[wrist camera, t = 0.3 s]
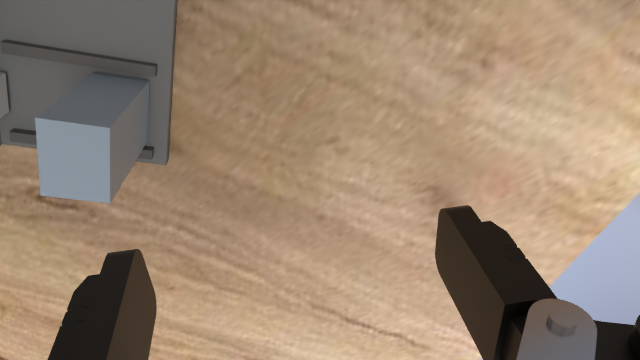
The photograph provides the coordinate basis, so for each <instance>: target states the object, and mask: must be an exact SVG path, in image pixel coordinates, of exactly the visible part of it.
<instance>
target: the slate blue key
mask: <svg viewBox="0 0 640 360" xmlns="http://www.w3.org/2000/svg"><path fill="white" fill-rule="evenodd" d="M149 83H150V81H149V80H143V79H136V78H130V77H123V76H117V75H111V74H104V73H98V72H93V73H92V74H90V75H89V76H88V77H87V78H85V79H84V80H83V81H81V82H80V83H79V84H78V85H76V86H75V87H74V88H72V89H71V90H70V91H69V92H67V93H66V94H65V95H63V96H62V97H61V98H60V99H58V100H57V101H56V102H54V103H53V104H52V105H51V106H49V107H48V108H47V109H45V110H44V111H43V112H42V113H40V114H39V115H38V116H37V117H35V125H36V139H37V153H38V167H39V180H40V194H41V196H50V197H58V198H67V199H76V200H84V201H93V202H102V203H111V201H112V199H113V198H114V196H115V194H116V193H117V191H118V189H119V188H120V186H121V184H122V183H123V181H124V179H125V178H126V176H127V174H128V173H129V171H130V169H131V168H132V166H133V165H134V163H135V161H136V160H137V158H138V156H139V155H140V153H141V151H142V150H143V148H144V146H145V145H146V143H147V140H148V111H149Z"/></svg>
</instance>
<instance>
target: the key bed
mask: <svg viewBox="0 0 640 360" xmlns="http://www.w3.org/2000/svg"><path fill="white" fill-rule="evenodd" d="M176 16H177V0H0V145H1V144H6V145H14V146H22V147H29V148H37V139H36V125H35V117H37V116H38V115H39V114H40V113H42V112H43V111H44V110H45V109H47V108H48V107H49V106H51V105H52V104H53V103H54V102H56V101H57V100H58V99H60V98H61V97H62V96H63V95H65V94H66V93H67V92H69V91H70V90H71V89H72V88H74V87H75V86H76V85H78V84H79V83H80V82H81V81H83V80H84V79H85V78H87V77H88V76H89V75H90V74H92V73H93V72H98V73H104V74H111V75H117V76H123V77H130V78H136V79H143V80H149V81H150V83H149V111H148V140H147V143H146V145H145V146H144V148H143V150H142V151H141V153H140V155H139V156H138V158H137V160H136V161H138V162H145V163H153V164H161V165H166V164H167V162H168V157H169V140H170V122H171V104H172V87H173V69H174V51H175V33H176Z"/></svg>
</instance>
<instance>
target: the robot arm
mask: <svg viewBox="0 0 640 360" xmlns="http://www.w3.org/2000/svg"><path fill="white" fill-rule="evenodd" d="M435 258H436V264H437V268H438V271H439V274H440V276H441V278H442V280H443V282H444V284H445V286H446V288H447V290H448V291H449V293H450V295H451V297H452V299H453V301H454V303H455V305H456V307H457V309H458V311H459V313H460V315H461V317H462V319H463V321H464V323H465V325H466V327H467V329H468V331H469V332H470V334H471V336H472V338H473V340H474V342H475V344H476V346H477V348H478V350H479V352H480V354H481V356H482V358H483V360H640V315H639V317H638V318H637V320H636V323H635V325H628V324H618V323H609V322H601V321H595V320H593V319H592V318H591V316H590V315H589V314H588V313H587V312H585V311H584V310H583V309H581V308H580V307H578V306H577V305H575V304H573V303H570V302H567V301H564V300H560V299H557V297H556V296H555V295H554V293H553V292H552V291H551V289H550V288H549V287H548V285H547V284H546V283H545V281H544V280H543V279H542V278H541V276H540V275H539V274H538V272H537V271H536V270H535V268H534V267H533V266H532V264H531V263H530V262H529V260H528V259H526V258H525V255H524V254H523V253H522V251H521V250H520V249H519V248H517V245H516V243H515V242H514V241H513V239H512V238H511V237H510V235H509V234H508V233H507V232H506V231H505V230H503V229H502V228H500V227H499V226H497V225H496V224H494V223H493V222H491V221H486V222H481V220H480V219H479V218H478V216H477V215H476V213H475V212H474V211H473V209H472V208H471V207H470V206H468V205H466V206H459V207H451V208H444V209H441V210H440V212H439V217H438V228H437V238H436V249H435ZM67 310H68V312H66V313H65V316H64V319H63V321H62V326H61V327H60V329H59V332H58V334H57V337H56V339H55V342H54V345H53V347H52V350H51V352H50V355H49V358H48V360H148V357H149V352H150V346H151V340H152V335H153V329H154V324H155V318H156V297H155V292H154V288H153V285H152V282H151V279H150V276H149V273H148V270H147V267H146V264H145V261H144V258H143V255H142V253H141V251H140V250H139V249H134V250H127V251H119V252H112V253H108V254H107V255H106V258H105V260H104V263H103V266H102V269H101V272H100V274H98V275H91V276H88V277H87V278H86V279H85V280H84V281H83V282H82V283H81V284H80V286H79V287H78V288H77V289H76V290H75V291H74V293H73V295H72V298H71V301H70V303H69V306H68V308H67Z"/></svg>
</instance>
